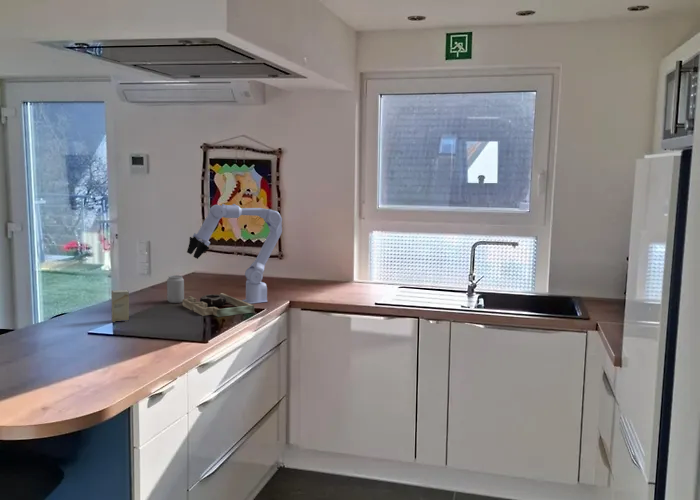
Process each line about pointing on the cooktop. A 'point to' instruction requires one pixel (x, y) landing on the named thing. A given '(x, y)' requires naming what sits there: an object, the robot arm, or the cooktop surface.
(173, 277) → the can
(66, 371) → the cooktop surface
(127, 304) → the skincare box
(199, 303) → the beige square zigzag bar
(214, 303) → the donut
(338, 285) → the cooktop surface
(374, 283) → the cooktop surface
